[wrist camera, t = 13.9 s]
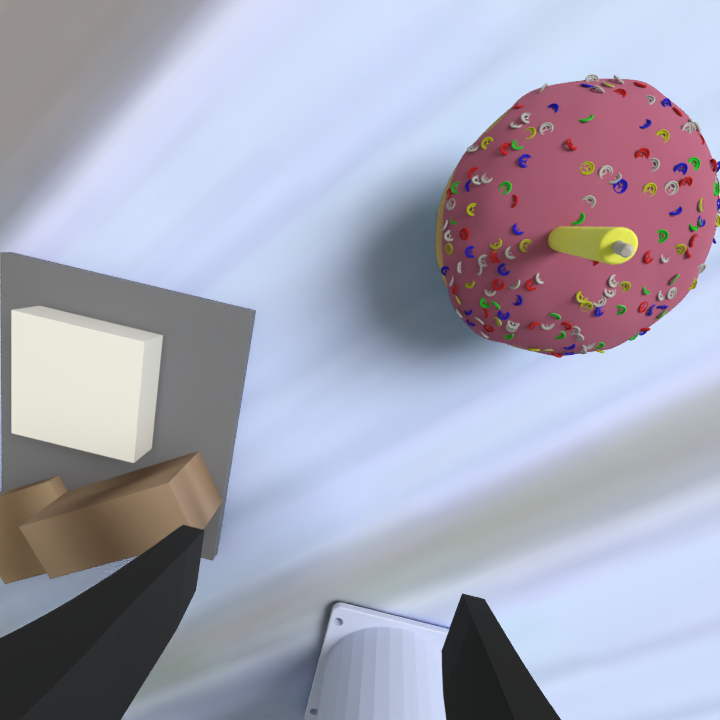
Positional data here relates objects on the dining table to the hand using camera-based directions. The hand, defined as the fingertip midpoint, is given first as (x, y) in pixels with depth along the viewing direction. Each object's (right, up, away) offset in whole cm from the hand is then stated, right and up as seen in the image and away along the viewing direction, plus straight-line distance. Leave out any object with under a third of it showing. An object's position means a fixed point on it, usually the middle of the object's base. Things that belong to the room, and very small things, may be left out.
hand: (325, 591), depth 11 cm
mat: (-11, +3, +10) cm, 16 cm away
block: (-9, +4, +8) cm, 13 cm away
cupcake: (+8, +12, +7) cm, 16 cm away
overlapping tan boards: (-13, -2, +11) cm, 18 cm away
